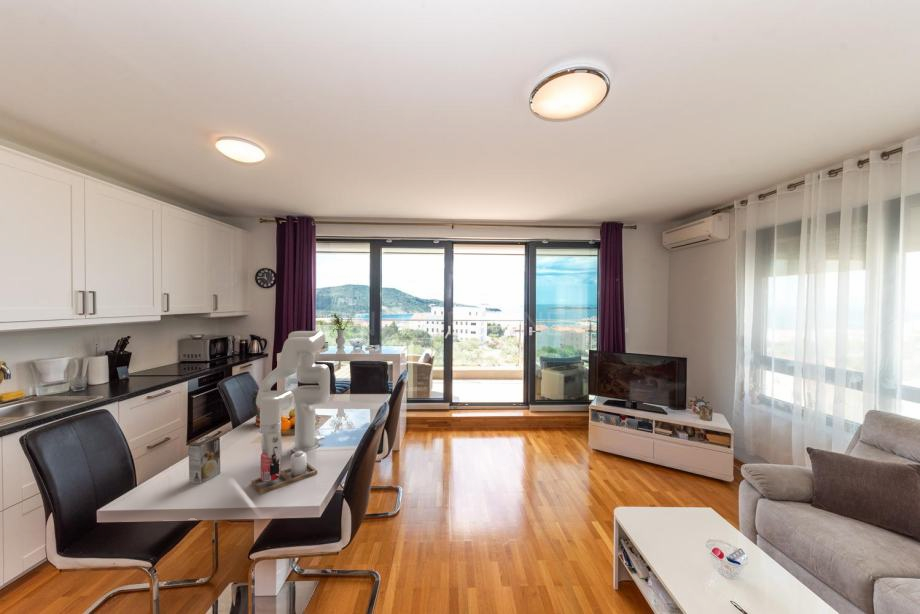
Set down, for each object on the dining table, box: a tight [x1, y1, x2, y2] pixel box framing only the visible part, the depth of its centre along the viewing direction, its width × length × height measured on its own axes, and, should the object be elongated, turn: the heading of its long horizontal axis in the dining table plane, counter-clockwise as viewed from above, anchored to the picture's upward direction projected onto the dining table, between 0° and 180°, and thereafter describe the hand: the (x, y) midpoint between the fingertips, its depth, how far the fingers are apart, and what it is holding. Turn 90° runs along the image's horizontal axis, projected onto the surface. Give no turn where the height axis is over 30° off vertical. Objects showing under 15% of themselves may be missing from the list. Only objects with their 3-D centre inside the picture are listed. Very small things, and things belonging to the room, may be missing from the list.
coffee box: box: [187, 435, 221, 484], centre depth 147 cm, size 9×6×16 cm
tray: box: [250, 462, 318, 495], centre depth 144 cm, size 22×14×3 cm, turn 137°
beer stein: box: [250, 389, 283, 427], centre depth 214 cm, size 19×15×20 cm
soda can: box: [260, 450, 282, 482], centre depth 140 cm, size 7×7×12 cm
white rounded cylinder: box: [290, 451, 308, 477], centre depth 148 cm, size 6×6×9 cm
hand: (271, 470), depth 140 cm, fingers closed on soda can, 7 cm apart
